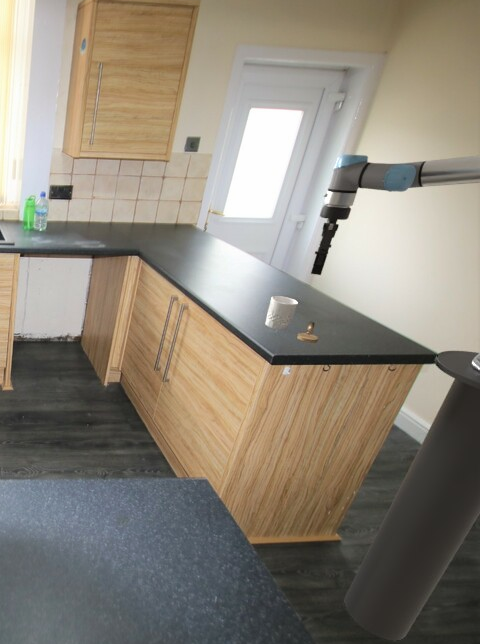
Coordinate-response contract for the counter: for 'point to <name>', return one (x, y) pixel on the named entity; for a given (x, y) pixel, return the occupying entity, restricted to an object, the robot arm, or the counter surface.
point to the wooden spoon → (308, 334)
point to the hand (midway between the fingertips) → (316, 270)
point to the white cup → (280, 312)
